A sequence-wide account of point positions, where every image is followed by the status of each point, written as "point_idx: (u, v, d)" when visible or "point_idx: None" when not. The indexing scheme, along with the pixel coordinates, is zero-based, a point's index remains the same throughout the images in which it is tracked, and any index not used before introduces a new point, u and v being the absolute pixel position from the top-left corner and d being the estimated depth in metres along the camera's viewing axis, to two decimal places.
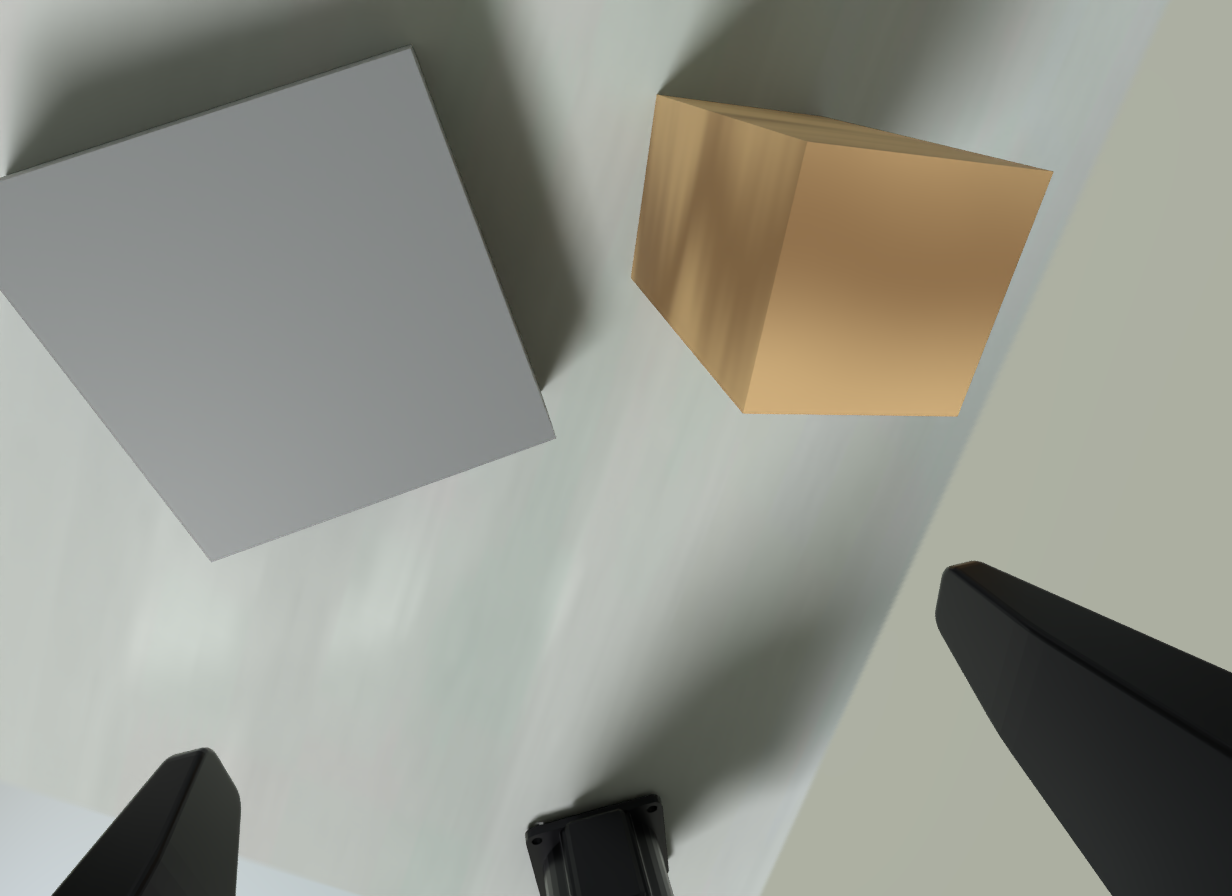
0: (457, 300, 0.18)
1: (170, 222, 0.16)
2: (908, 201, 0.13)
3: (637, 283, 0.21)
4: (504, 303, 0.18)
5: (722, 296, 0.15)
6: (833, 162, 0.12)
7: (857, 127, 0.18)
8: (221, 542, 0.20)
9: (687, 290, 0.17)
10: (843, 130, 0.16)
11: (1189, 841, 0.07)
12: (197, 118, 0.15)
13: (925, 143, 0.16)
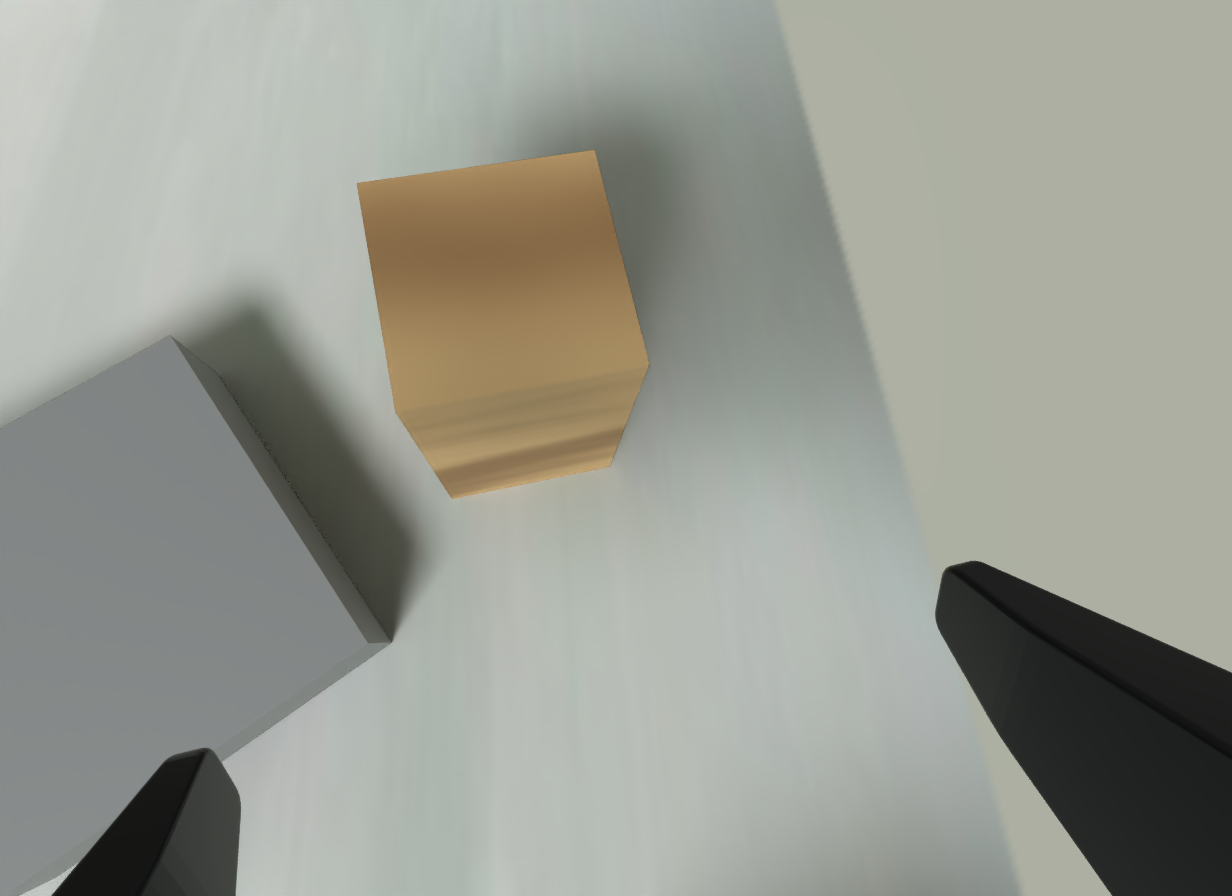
0: (233, 518, 0.19)
1: None
2: (471, 199, 0.15)
3: (448, 492, 0.22)
4: (280, 509, 0.19)
5: None
6: (387, 190, 0.15)
7: None
8: None
9: None
10: None
11: (1189, 841, 0.07)
12: (4, 428, 0.19)
13: None
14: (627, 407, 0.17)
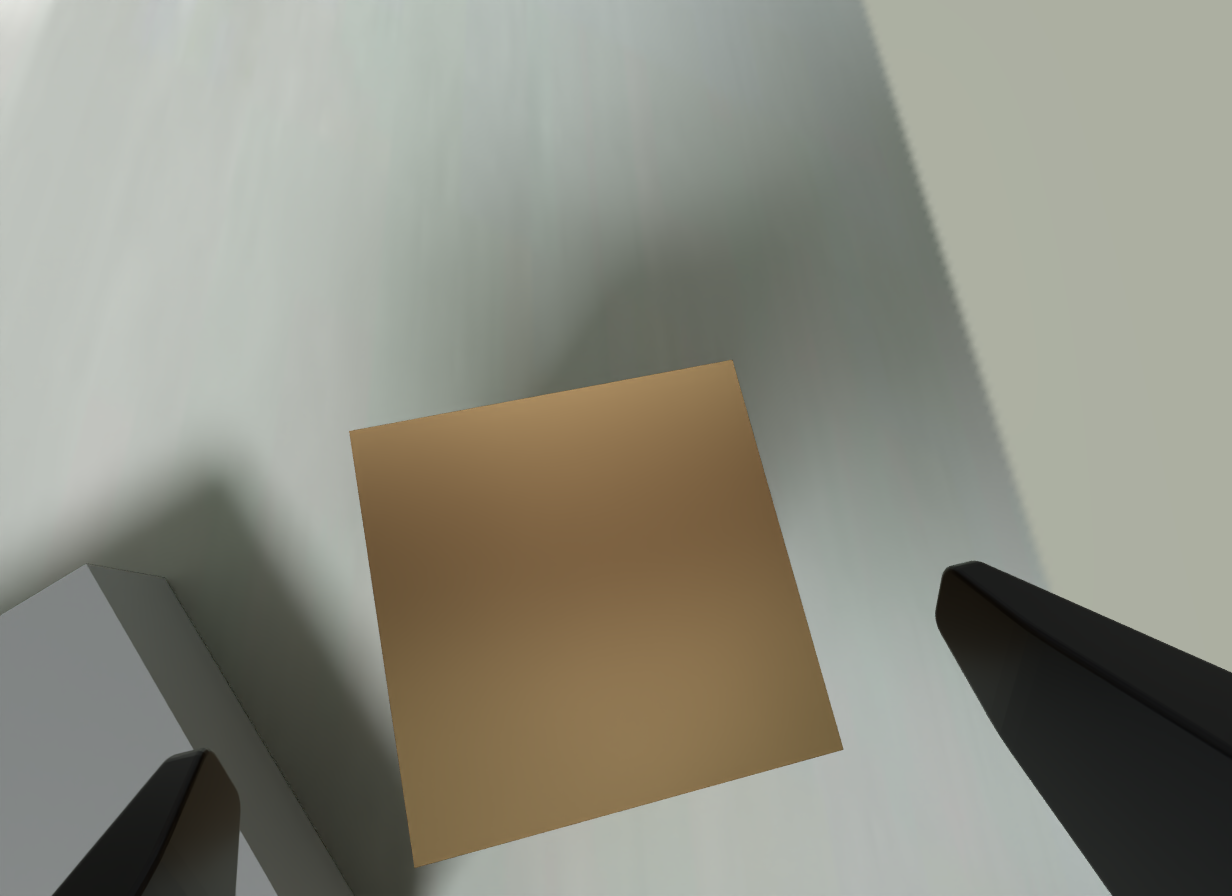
0: None
1: None
2: (538, 454, 0.09)
3: None
4: None
5: None
6: (399, 442, 0.09)
7: None
8: None
9: None
10: None
11: (1189, 841, 0.07)
12: None
13: None
14: None
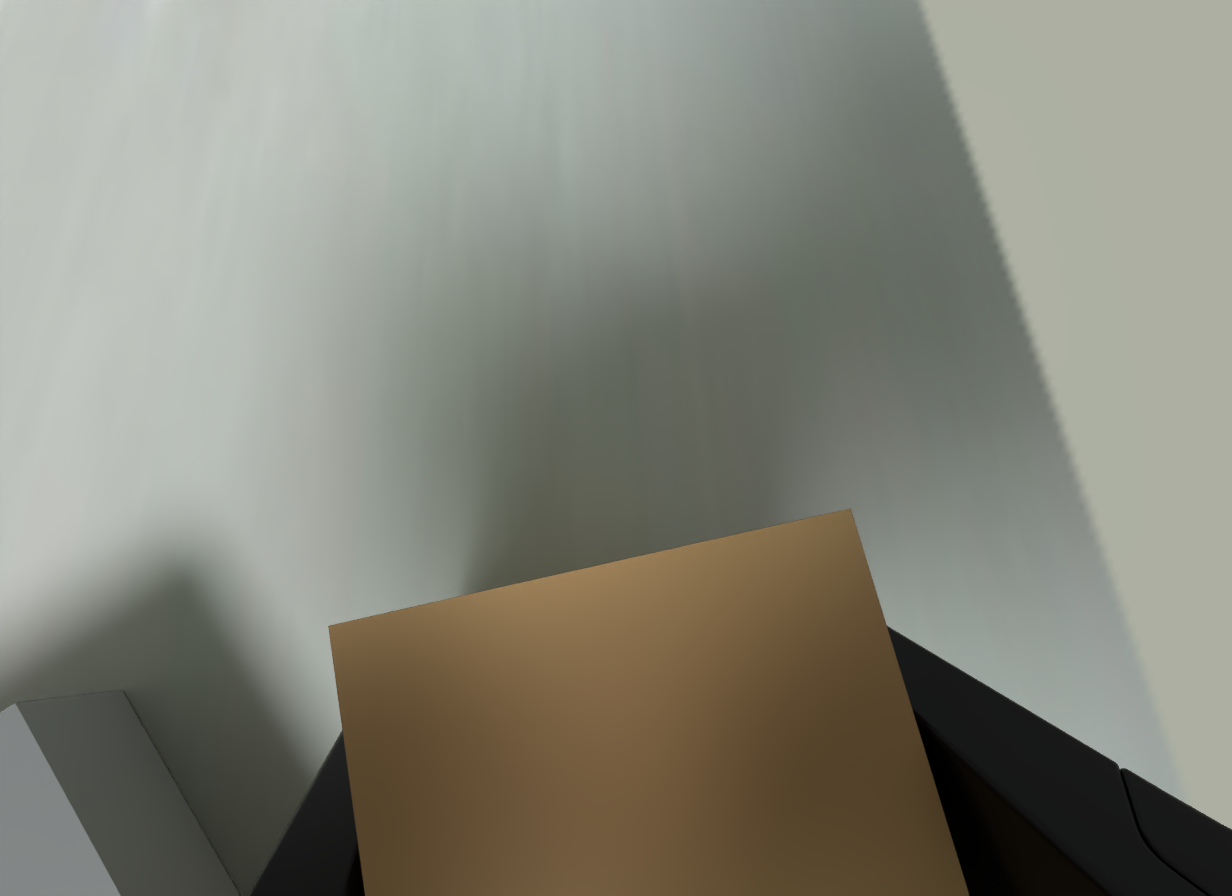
0: None
1: None
2: (591, 653, 0.07)
3: None
4: None
5: None
6: (398, 641, 0.06)
7: None
8: None
9: None
10: None
11: None
12: None
13: None
14: None
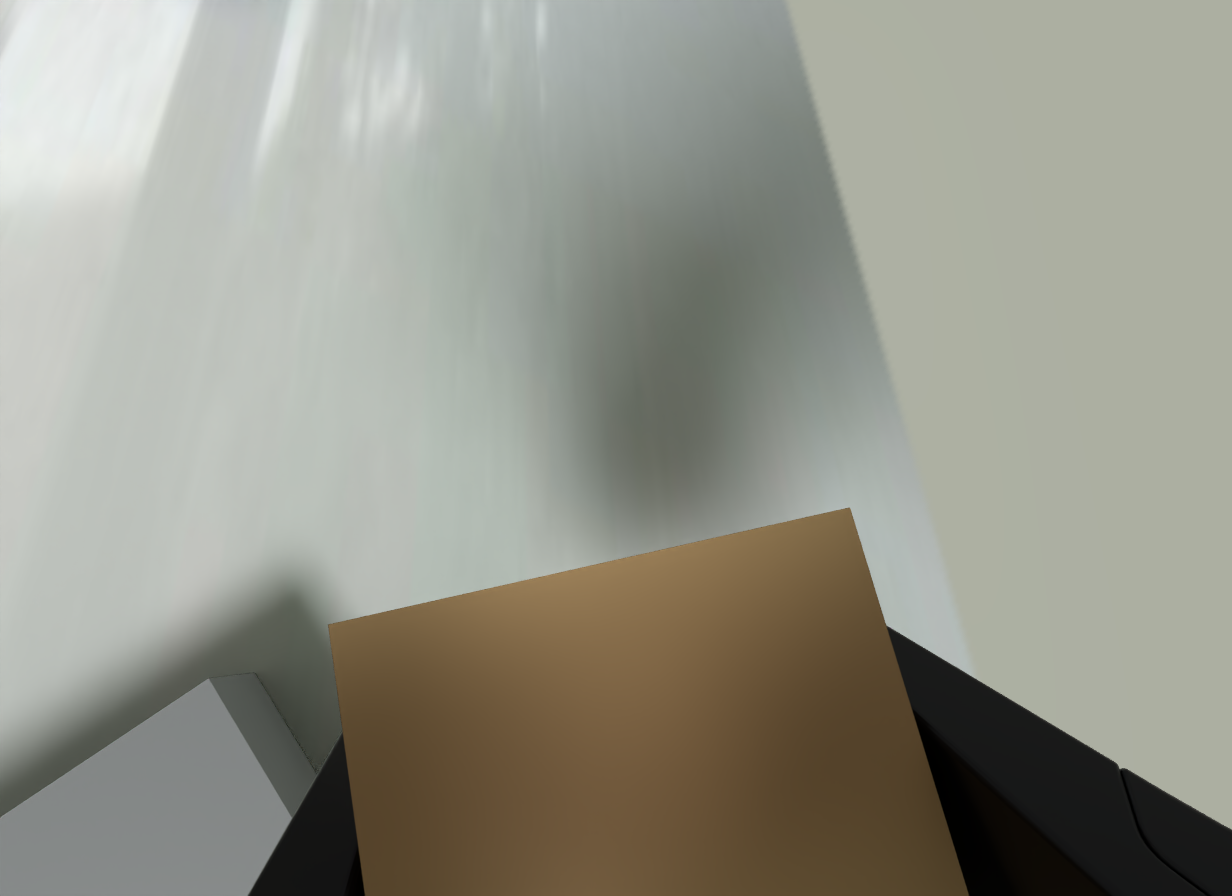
0: None
1: None
2: (590, 652, 0.07)
3: None
4: None
5: None
6: (398, 640, 0.07)
7: None
8: None
9: None
10: None
11: None
12: (26, 801, 0.17)
13: None
14: None
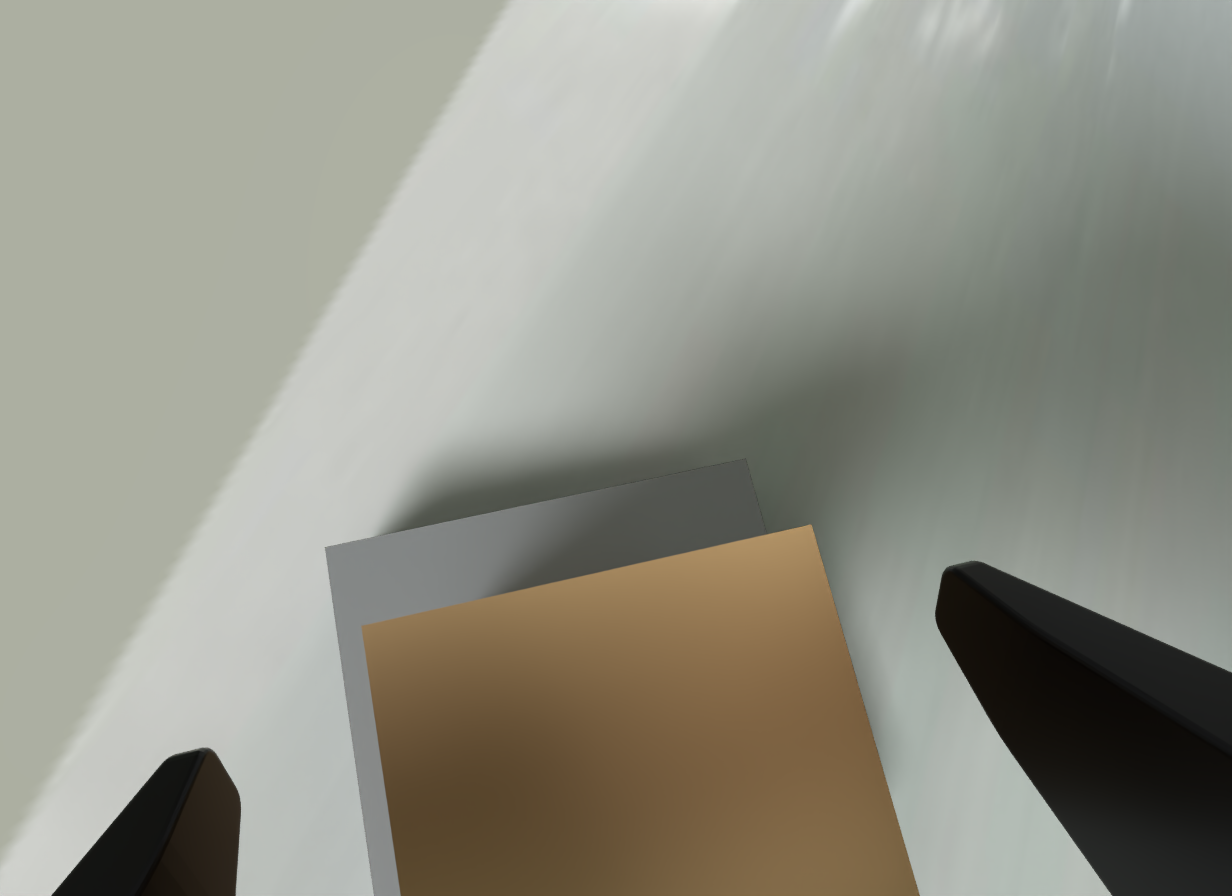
0: None
1: (510, 583, 0.17)
2: (586, 649, 0.08)
3: None
4: None
5: None
6: (421, 639, 0.08)
7: None
8: None
9: None
10: None
11: (1188, 841, 0.07)
12: (562, 498, 0.17)
13: None
14: None
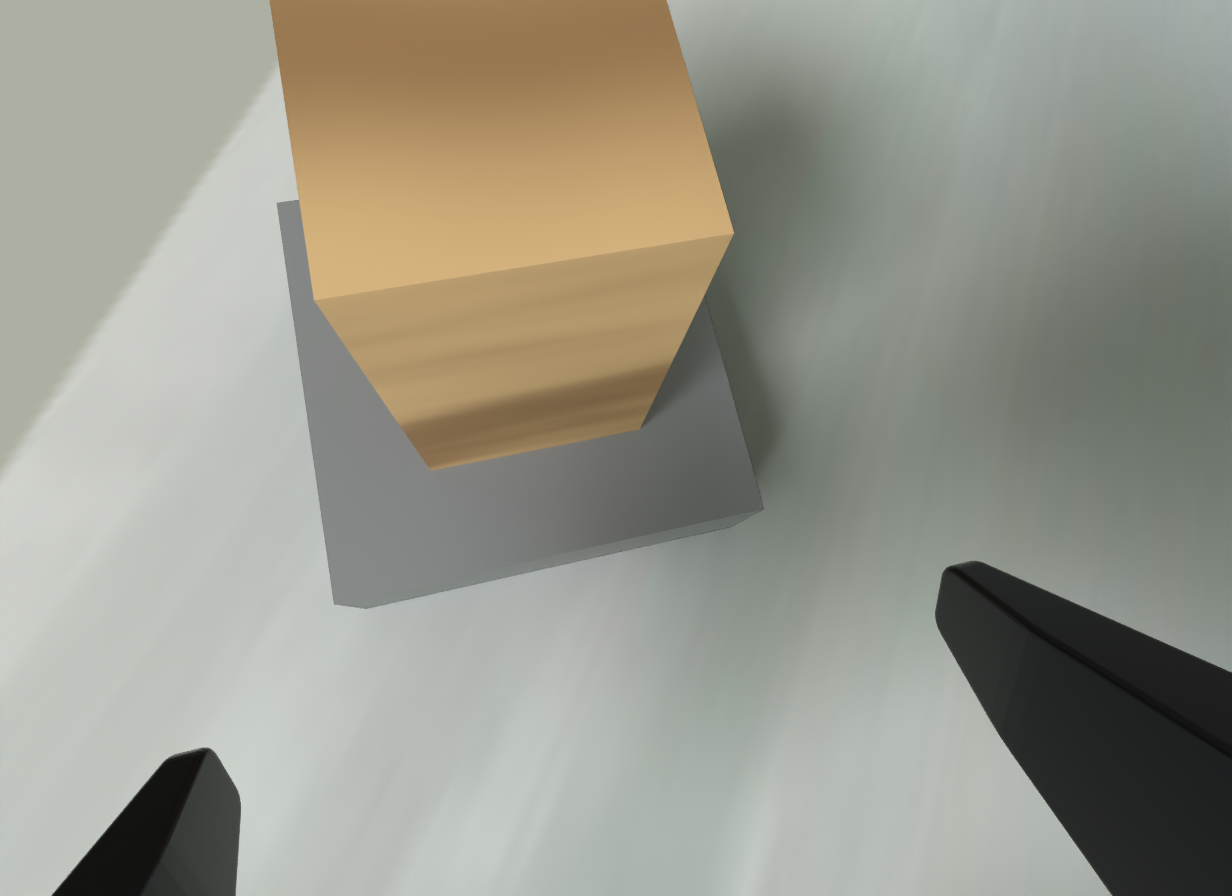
0: None
1: None
2: None
3: None
4: (718, 347, 0.18)
5: None
6: None
7: None
8: (356, 577, 0.16)
9: None
10: None
11: (1189, 841, 0.07)
12: None
13: None
14: (682, 325, 0.12)
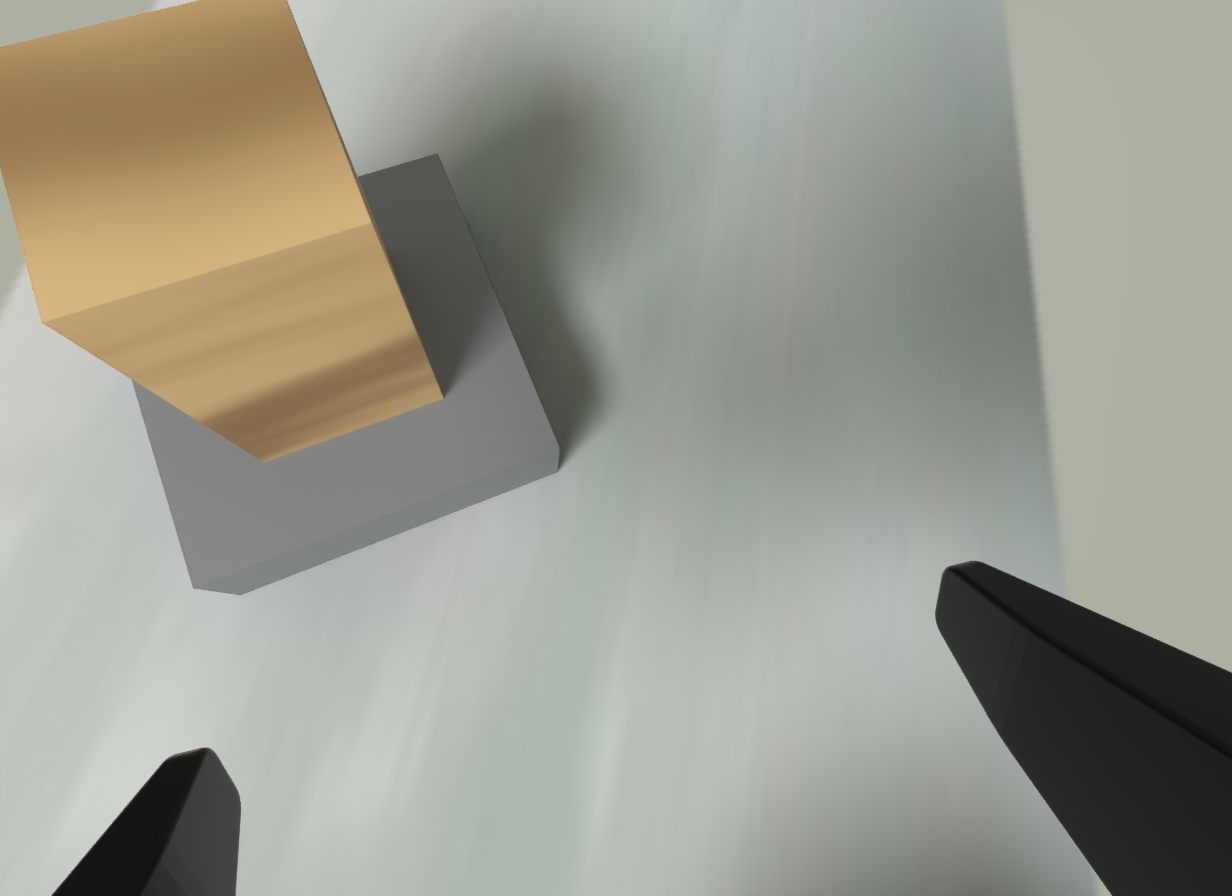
0: (464, 317, 0.21)
1: None
2: (124, 56, 0.12)
3: (252, 453, 0.19)
4: (504, 318, 0.21)
5: None
6: (11, 59, 0.12)
7: None
8: (210, 562, 0.19)
9: None
10: None
11: (1189, 841, 0.07)
12: None
13: None
14: (395, 300, 0.14)
